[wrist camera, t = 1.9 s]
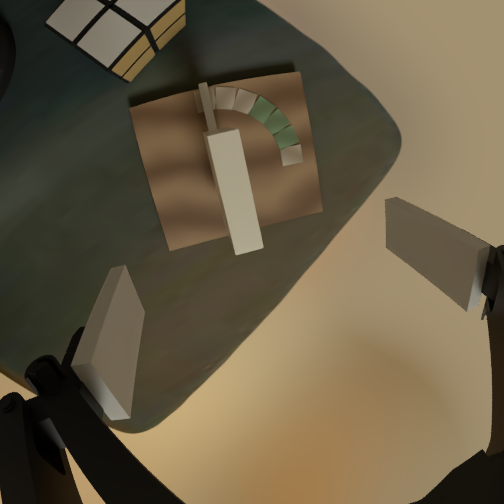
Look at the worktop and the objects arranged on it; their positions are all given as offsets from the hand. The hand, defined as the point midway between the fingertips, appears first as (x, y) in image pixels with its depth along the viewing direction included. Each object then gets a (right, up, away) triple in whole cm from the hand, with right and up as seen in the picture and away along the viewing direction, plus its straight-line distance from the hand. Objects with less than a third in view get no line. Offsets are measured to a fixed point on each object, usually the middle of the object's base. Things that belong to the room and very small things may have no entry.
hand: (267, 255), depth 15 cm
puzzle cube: (-15, +26, +13) cm, 33 cm away
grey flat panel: (-5, +12, +19) cm, 23 cm away
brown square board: (-3, +11, +22) cm, 25 cm away
